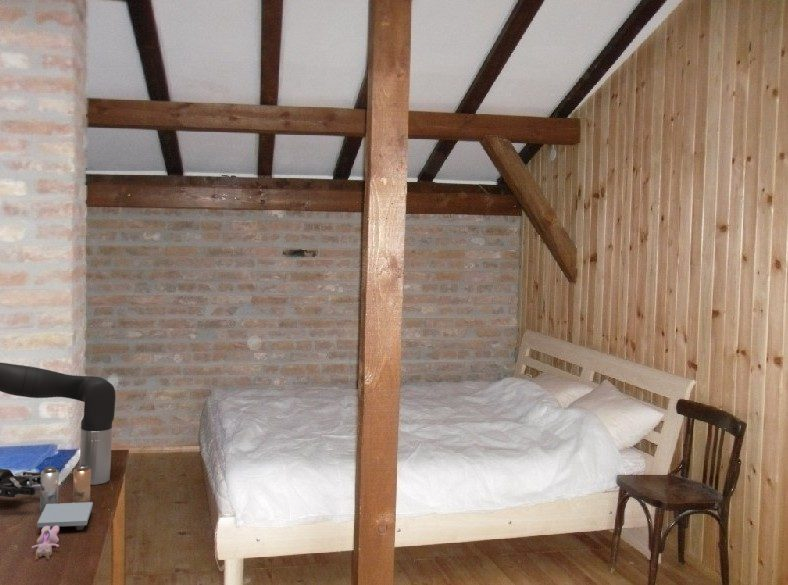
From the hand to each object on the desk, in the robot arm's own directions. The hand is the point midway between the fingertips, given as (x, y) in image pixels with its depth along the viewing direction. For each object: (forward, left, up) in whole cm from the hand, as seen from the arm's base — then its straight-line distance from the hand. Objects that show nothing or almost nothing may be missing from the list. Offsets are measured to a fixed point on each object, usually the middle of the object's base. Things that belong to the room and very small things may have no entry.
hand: (43, 486), depth 206 cm
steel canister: (+1, +1, -7) cm, 7 cm away
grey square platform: (+14, +1, -7) cm, 16 cm away
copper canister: (+4, +9, -7) cm, 12 cm away
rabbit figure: (+27, -8, -7) cm, 29 cm away
